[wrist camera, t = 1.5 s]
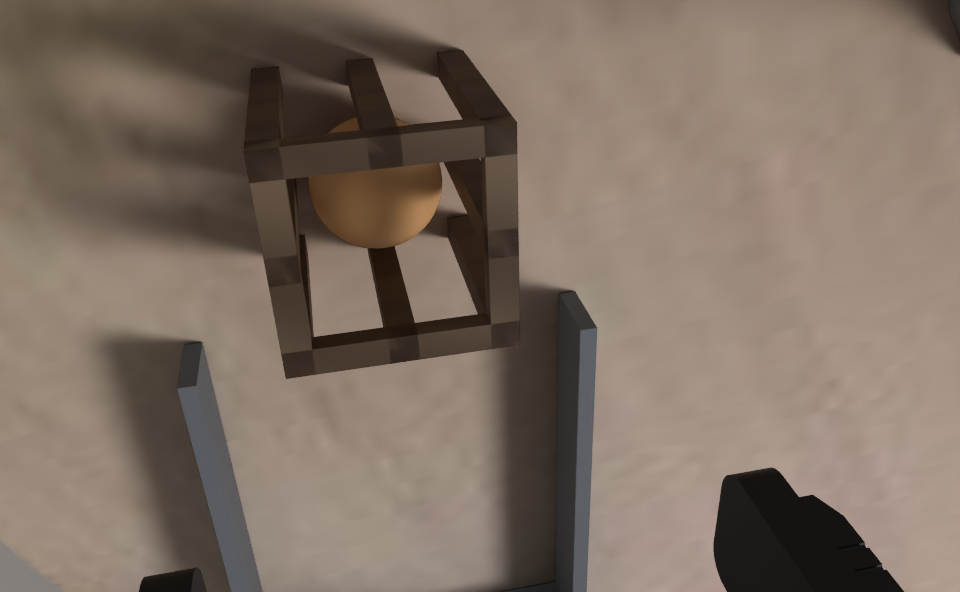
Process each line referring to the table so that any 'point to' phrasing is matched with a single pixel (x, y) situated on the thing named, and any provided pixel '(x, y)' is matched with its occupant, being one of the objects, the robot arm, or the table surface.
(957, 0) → the coffeepot
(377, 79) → the shaker cage
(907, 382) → the table surface
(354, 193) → the ball
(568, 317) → the low u-shaped wall
